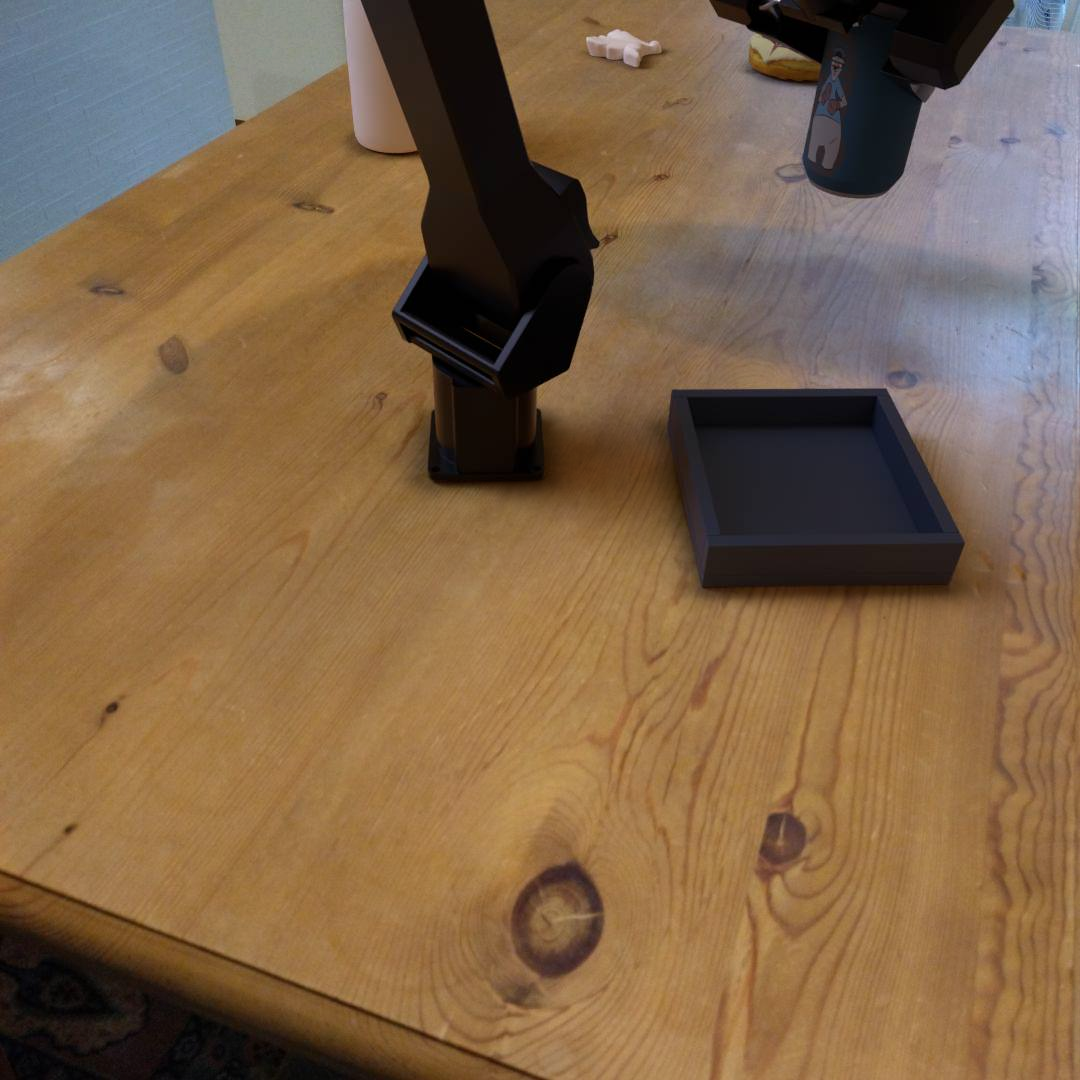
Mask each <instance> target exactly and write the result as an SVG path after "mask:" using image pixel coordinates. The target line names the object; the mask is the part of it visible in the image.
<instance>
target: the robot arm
mask: <svg viewBox="0 0 1080 1080" xmlns="http://www.w3.org/2000/svg"><path fill="white" fill-rule="evenodd" d="M708 1H709V3H710V5H711V7H712V9H713V10H714V12H715V13H716V16H717V17H718V18H721V19H724V20H727V21H730V22H732V23H733V22H734V23H736V24H739V25H743V26H745V27H746V29H747V30H748V31H749V32H752V33H755V34H759V35H761V36H763V37H765V38H767V39H769V40H771V41H773V42H775V43H777V44H779V45H781V46H783V47H785V48H787V49H789V50H791V51H793V52H795V53H797V54H800V55H801V56H803V57H805V58H807V59H809V60H811V61H813V62H815V63H817V64H819V65H821V64H822V59H823V54H824V49H825V44H826V39H827V35H828V30H829V29H831V30H834V31H838V32H841V33H844V34H847V33H848V32H849V30H850V29H851V27H852V26H854V27H857V26H859V25H860V24H861V23H862V21H863V20H864V19H865V17H866V15H870V16H874V17H877V18H880V19H884V20H887V21H891V22H894V23H898V24H899V25H898V26H897V28H896V29H895V30H894V34H893V38H892V43H891V47H890V51H889V58H888V60H887V61H886V63H885V64H884V65H883V67H882V68H881V70H880V72H881V74H883V75H884V76H885V77H887V78H888V79H889V80H891V81H892V82H894V83H895V84H896V85H898V86H899V87H900V88H902V89H903V90H904V91H906V92H907V93H908V94H910V95H912V96H913V97H915V98H916V99H918V100H919V101H921V102H922V103H927V102H928V100H929V99H930V97H931V96H932V94H933V93H934V92H935V90H936V88H937V89H940V90H943V91H946V90H947V91H948V90H949V89H951V88H955V87H957V86H959V85H960V84H961V83H962V82H963V80H964V79H965V78H966V76H967V75H968V73H969V72H970V71H971V69H972V68H973V66H974V65H975V63H976V62H977V61H978V59H979V58H980V57H981V55H982V54H983V53H984V51H985V50H986V48H987V47H988V45H989V44H990V42H991V41H992V40H993V38H994V37H995V36H996V34H997V33H998V31H999V30H1000V29H1001V27H1002V26H1003V24H1004V23H1005V21H1006V20H1007V19H1008V17H1009V16H1010V15H1011V13H1013V10H1014V9H1015V8H1016V6H1015V2H1014V1H1015V0H708ZM361 3H362V6H363V8H364V11H365V14H366V16H367V19H368V21H369V24H370V27H371V29H372V32H373V35H374V37H375V40H376V43H377V45H378V48H379V50H380V53H381V56H382V58H383V61H384V64H385V66H386V69H387V71H388V74H389V77H390V79H391V82H392V85H393V87H394V90H395V92H396V95H397V98H398V100H399V103H400V106H401V108H402V111H403V113H404V116H405V119H406V121H407V124H408V127H409V129H410V132H411V135H412V137H413V140H414V142H415V145H416V148H417V150H418V151H417V153H418V155H419V158H420V160H421V163H422V166H423V169H424V172H425V174H426V176H427V180H428V186H429V187H428V192H427V195H426V199H425V203H424V207H423V211H422V216H421V218H420V230H421V231H420V232H421V236H422V241H423V244H424V249H425V254H424V256H423V257H422V259H421V261H420V263H419V265H418V266H417V268H416V270H415V271H414V273H413V275H412V276H411V278H410V280H409V281H408V283H407V285H406V287H405V288H404V290H403V292H402V294H401V295H400V297H399V299H398V301H397V302H396V304H395V306H394V307H393V309H392V310H391V318H392V320H393V322H394V325H395V327H396V329H397V331H398V333H399V335H400V337H401V339H402V340H403V341H404V342H406V343H408V344H413V345H415V346H417V347H418V348H419V349H422V350H423V351H425V352H427V353H428V354H430V355H431V367H432V385H433V402H434V409H433V410H432V411H431V413H430V427H429V428H430V429H429V443H428V457H427V458H428V459H427V476H428V479H430V480H431V481H433V482H441V481H442V482H457V481H458V482H460V481H462V482H463V481H464V482H465V481H466V482H467V481H471V482H473V481H474V482H475V481H476V482H477V481H539V480H542V479H543V478H544V477H545V474H546V466H545V465H546V463H545V449H544V434H543V420H542V419H543V418H542V410H541V409H540V408H538V387H540V386H541V385H544V384H546V383H548V382H549V381H551V380H553V379H555V378H556V377H558V376H560V375H563V374H564V373H567V371H569V370H570V368H571V365H572V363H573V362H572V361H573V358H574V355H575V352H576V347H577V345H578V342H579V338H580V334H581V331H582V327H583V324H584V321H585V317H586V314H587V310H588V307H589V305H590V300H591V297H592V292H593V286H594V282H595V265H594V263H595V262H594V256H593V253H592V250H596V249H598V248H599V247H600V244H601V243H600V241H599V239H598V238H597V237H596V236H595V234H594V233H593V230H592V227H591V225H590V222H589V213H588V203H587V201H588V200H587V195H586V193H585V190H584V188H583V186H582V183H581V181H580V180H579V179H578V178H575V177H573V176H571V175H568V174H566V173H563V172H561V171H559V170H557V169H554V168H551V167H549V166H547V165H544V164H542V163H540V162H537V161H534V160H533V159H531V158H530V155H529V154H528V153H529V152H528V149H527V146H526V142H525V139H524V135H523V132H522V129H521V124H520V121H519V117H518V114H517V110H516V107H515V103H514V100H513V97H512V93H511V89H510V86H509V82H508V79H507V75H506V72H505V68H504V64H503V61H502V58H501V57H502V56H501V54H500V50H499V47H498V43H497V39H496V37H495V32H494V29H493V26H492V25H493V24H492V22H491V19H490V15H489V11H488V8H487V7H488V6H487V4H486V1H485V0H361Z"/></svg>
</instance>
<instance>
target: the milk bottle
mask: <svg viewBox="0 0 1080 1080" xmlns="http://www.w3.org/2000/svg"><path fill="white" fill-rule="evenodd" d="M342 6H343V7H342V8H343V23H344V25H343V26H344V35H345V49H346V58H347V67H348V68H347V70H348V80H349V91H350V101H351V111H352V122H353V129H354V136H355V139H356V140H357V142H358V143H359V144H360V145H361V146H362V147H363V148H366V149H368V150H371V151H375V152H378V153H379V152H380V153H388V154H403V153H405V154H406V153H412V152H413V153H414V152H418V150H417V148H416V145H415V142H414V140H413V137H412V135H411V132H410V129H409V127H408V124H407V121H406V119H405V116H404V113H403V111H402V108H401V106H400V103H399V100H398V98H397V95H396V92H395V90H394V87H393V85H392V82H391V79H390V77H389V74H388V71H387V69H386V66H385V64H384V61H383V58H382V56H381V53H380V50H379V48H378V45H377V43H376V40H375V37H374V35H373V32H372V29H371V27H370V24H369V21H368V19H367V16H366V14H365V11H364V8H363V6H362V3H361V0H343V1H342Z"/></svg>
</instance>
